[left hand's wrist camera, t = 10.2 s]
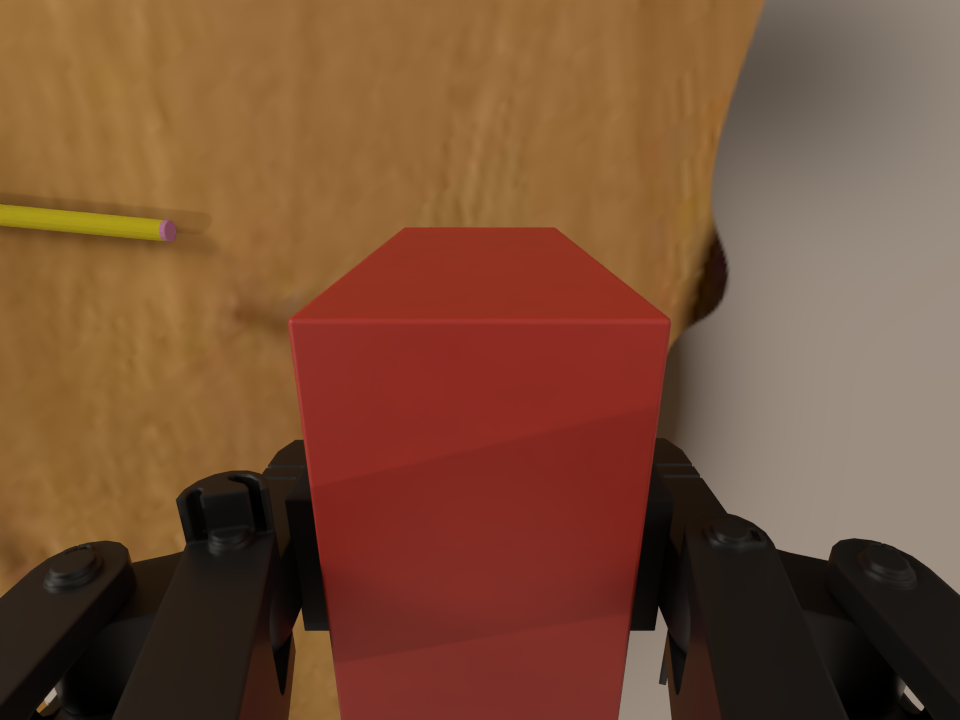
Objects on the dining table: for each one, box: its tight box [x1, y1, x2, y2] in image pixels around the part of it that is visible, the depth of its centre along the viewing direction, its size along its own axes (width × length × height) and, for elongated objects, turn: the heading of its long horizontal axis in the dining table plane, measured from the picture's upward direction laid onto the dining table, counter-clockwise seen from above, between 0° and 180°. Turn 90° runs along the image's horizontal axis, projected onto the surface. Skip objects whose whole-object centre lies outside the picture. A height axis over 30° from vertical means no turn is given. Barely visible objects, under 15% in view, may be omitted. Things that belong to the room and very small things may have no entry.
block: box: [288, 228, 671, 720], centre depth 13 cm, size 9×5×10 cm, turn 0°
